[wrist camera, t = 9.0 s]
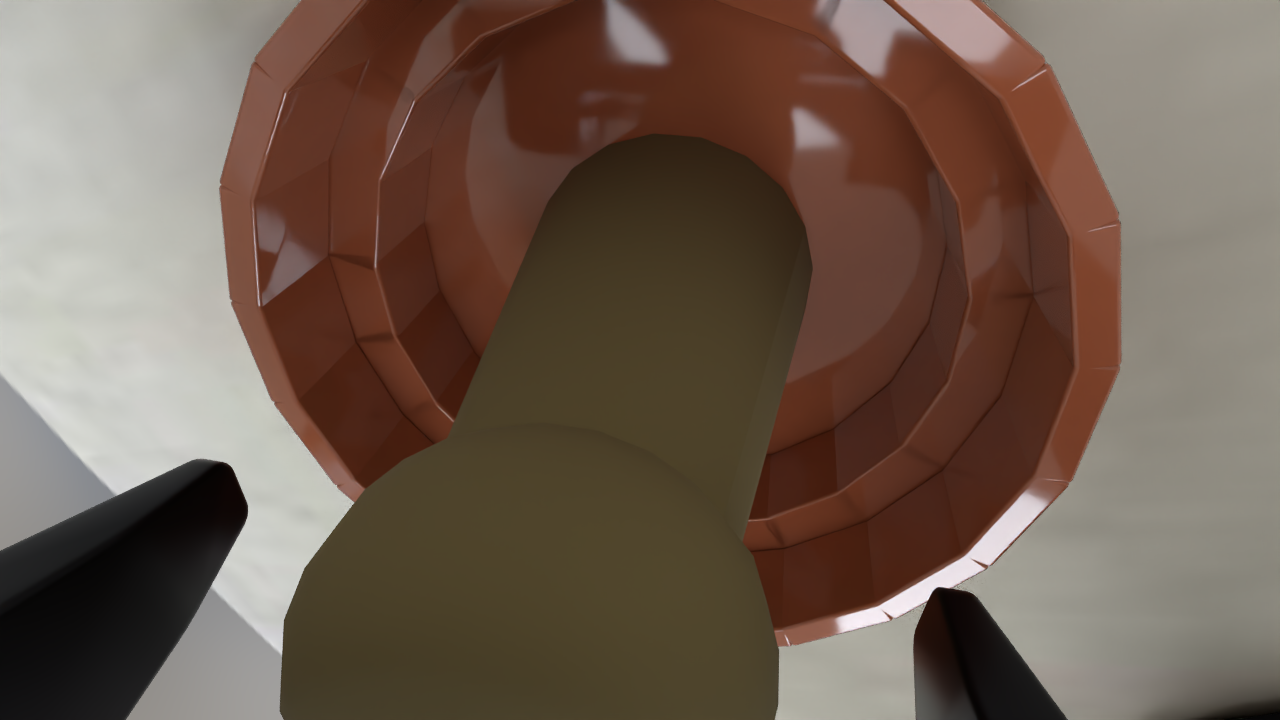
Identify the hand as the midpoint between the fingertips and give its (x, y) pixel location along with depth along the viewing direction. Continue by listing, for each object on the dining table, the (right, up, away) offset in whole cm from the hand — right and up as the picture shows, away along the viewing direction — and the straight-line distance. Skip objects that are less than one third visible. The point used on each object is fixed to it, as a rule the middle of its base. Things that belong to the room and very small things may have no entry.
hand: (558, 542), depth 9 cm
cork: (+2, +4, +7) cm, 8 cm away
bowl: (+2, +5, +7) cm, 8 cm away
